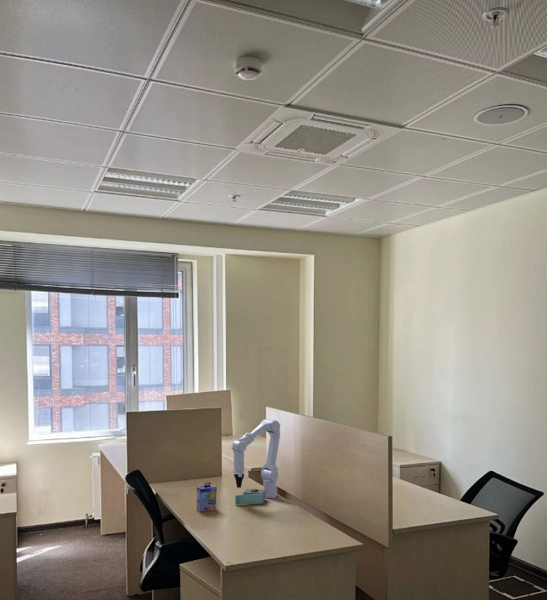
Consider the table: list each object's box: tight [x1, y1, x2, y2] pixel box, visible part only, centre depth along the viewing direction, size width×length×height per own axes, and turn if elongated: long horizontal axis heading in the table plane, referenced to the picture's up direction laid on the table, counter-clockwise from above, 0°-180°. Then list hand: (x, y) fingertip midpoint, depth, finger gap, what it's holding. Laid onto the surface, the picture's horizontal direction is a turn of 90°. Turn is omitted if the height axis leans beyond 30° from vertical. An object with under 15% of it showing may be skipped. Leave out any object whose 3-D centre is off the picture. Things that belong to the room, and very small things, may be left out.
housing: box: [242, 488, 266, 502], centre depth 333 cm, size 8×11×6 cm
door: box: [234, 494, 265, 506], centre depth 326 cm, size 1×16×5 cm, turn 99°
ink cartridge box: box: [196, 482, 218, 513], centre depth 317 cm, size 10×6×14 cm, turn 122°
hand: (238, 487), depth 328 cm, fingers closed
